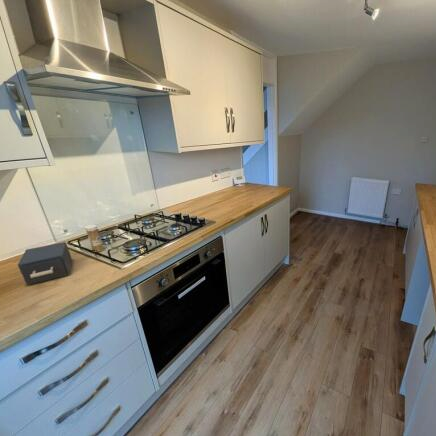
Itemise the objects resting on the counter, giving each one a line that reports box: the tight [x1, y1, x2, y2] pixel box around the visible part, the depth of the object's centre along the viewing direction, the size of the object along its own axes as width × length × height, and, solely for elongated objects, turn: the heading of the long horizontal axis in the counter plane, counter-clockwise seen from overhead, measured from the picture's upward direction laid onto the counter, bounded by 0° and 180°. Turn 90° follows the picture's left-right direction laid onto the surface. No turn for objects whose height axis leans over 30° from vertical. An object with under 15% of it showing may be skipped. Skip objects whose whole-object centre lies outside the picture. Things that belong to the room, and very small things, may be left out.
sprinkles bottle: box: [84, 224, 104, 253], centre depth 118 cm, size 5×5×13 cm
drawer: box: [19, 257, 68, 285], centre depth 98 cm, size 18×11×8 cm, turn 37°
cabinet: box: [17, 241, 73, 286], centre depth 100 cm, size 15×13×10 cm
